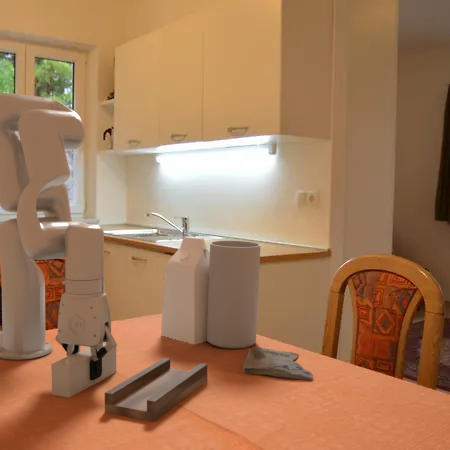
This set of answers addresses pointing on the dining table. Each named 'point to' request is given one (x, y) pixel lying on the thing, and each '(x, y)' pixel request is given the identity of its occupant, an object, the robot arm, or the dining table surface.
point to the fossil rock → (274, 364)
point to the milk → (186, 292)
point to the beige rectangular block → (79, 372)
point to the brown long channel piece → (154, 390)
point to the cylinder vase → (233, 293)
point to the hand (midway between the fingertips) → (85, 375)
